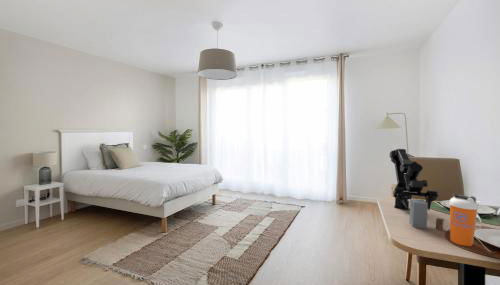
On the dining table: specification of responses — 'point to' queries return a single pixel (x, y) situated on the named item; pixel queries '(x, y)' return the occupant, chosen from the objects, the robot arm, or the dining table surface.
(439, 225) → the post
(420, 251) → the dining table surface
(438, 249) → the dining table surface
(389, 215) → the dining table surface
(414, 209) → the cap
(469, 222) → the shaker bottle
